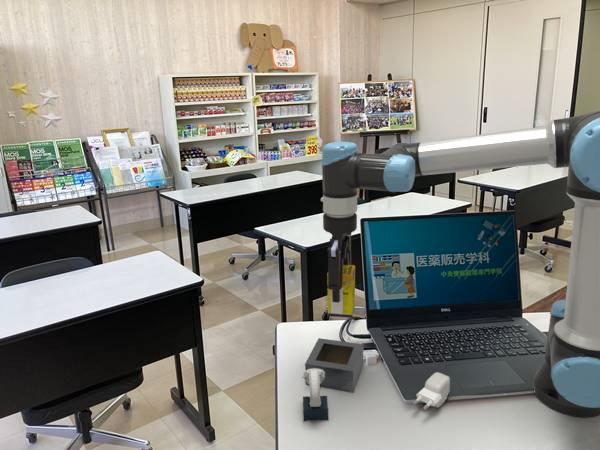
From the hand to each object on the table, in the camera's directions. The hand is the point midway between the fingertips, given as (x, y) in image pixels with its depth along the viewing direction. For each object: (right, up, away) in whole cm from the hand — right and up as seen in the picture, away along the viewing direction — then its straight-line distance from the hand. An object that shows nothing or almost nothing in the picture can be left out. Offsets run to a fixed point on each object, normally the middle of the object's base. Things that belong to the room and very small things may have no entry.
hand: (340, 305), depth 112 cm
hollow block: (-1, -19, +8) cm, 21 cm away
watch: (-6, -24, -5) cm, 25 cm away
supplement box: (0, -2, 0) cm, 2 cm away
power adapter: (+20, -22, -4) cm, 31 cm away
